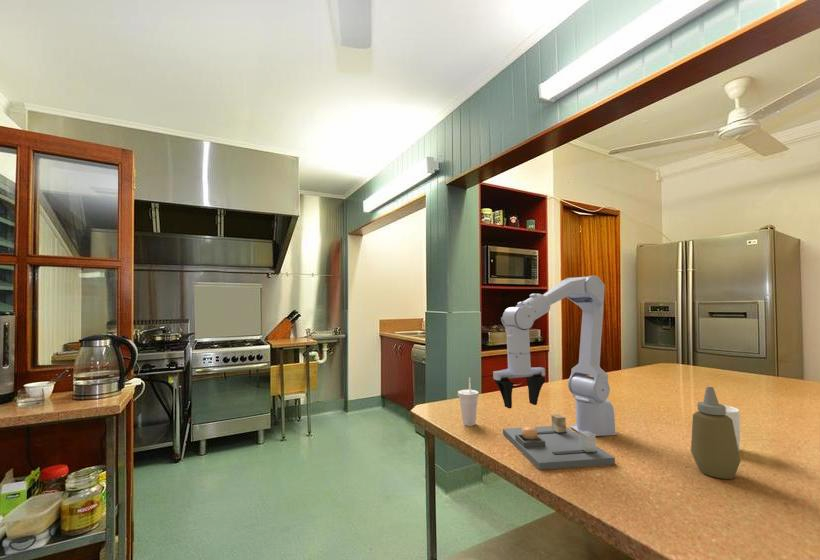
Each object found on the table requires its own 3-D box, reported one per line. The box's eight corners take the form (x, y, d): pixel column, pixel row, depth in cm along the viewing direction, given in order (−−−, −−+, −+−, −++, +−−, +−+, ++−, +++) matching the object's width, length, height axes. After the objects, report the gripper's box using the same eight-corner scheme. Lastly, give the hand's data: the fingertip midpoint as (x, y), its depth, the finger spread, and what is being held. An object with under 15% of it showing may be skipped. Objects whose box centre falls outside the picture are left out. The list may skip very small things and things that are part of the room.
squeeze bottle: (692, 461, 82) (687, 381, 83) (740, 471, 77) (733, 386, 78) (691, 475, 76) (685, 388, 77) (743, 486, 71) (736, 393, 72)
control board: (563, 430, 103) (563, 420, 103) (615, 464, 81) (614, 451, 81) (502, 434, 101) (502, 424, 101) (539, 470, 79) (538, 457, 79)
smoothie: (479, 428, 107) (478, 380, 107) (457, 426, 108) (456, 379, 109) (479, 421, 113) (478, 375, 114) (459, 420, 114) (458, 375, 115)
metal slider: (588, 446, 87) (587, 430, 87) (596, 451, 84) (595, 434, 84) (579, 447, 86) (578, 431, 87) (586, 452, 83) (585, 435, 84)
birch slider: (560, 428, 99) (559, 414, 100) (566, 431, 96) (565, 417, 97) (552, 428, 99) (551, 414, 99) (557, 432, 96) (556, 417, 96)
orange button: (533, 433, 93) (533, 425, 93) (539, 438, 89) (539, 430, 89) (520, 434, 92) (519, 426, 92) (526, 439, 89) (525, 431, 89)
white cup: (727, 457, 84) (724, 413, 84) (692, 444, 91) (690, 404, 92) (751, 453, 86) (747, 410, 86) (715, 441, 93) (712, 401, 94)
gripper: (532, 349, 100) (534, 398, 99) (486, 352, 95) (488, 404, 95) (549, 352, 93) (552, 405, 92) (500, 356, 89) (503, 412, 88)
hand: (520, 405), depth 93 cm, fingers open, 7 cm apart
